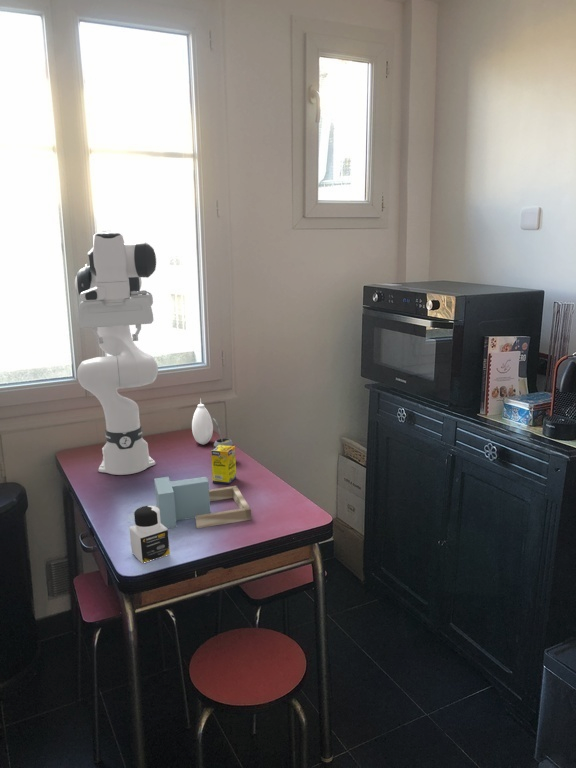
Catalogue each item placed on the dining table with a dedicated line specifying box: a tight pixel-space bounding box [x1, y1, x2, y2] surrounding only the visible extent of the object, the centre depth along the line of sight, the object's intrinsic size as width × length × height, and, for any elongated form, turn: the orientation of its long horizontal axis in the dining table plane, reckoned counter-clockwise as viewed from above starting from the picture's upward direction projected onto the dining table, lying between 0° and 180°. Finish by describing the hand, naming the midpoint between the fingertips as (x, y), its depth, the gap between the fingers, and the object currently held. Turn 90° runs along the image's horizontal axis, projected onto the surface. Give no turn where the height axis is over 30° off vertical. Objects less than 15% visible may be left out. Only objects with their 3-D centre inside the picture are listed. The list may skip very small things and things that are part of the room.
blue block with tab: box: [153, 476, 211, 529], centre depth 173 cm, size 12×14×10 cm
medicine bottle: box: [129, 505, 171, 564], centre depth 152 cm, size 7×7×12 cm
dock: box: [195, 485, 252, 529], centre depth 176 cm, size 18×15×3 cm
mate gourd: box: [212, 417, 235, 450], centre depth 214 cm, size 8×8×15 cm
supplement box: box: [210, 445, 237, 485], centre depth 198 cm, size 6×6×11 cm
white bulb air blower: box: [191, 397, 214, 446], centre depth 234 cm, size 8×8×18 cm
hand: (118, 342), depth 174 cm, fingers open, 8 cm apart
